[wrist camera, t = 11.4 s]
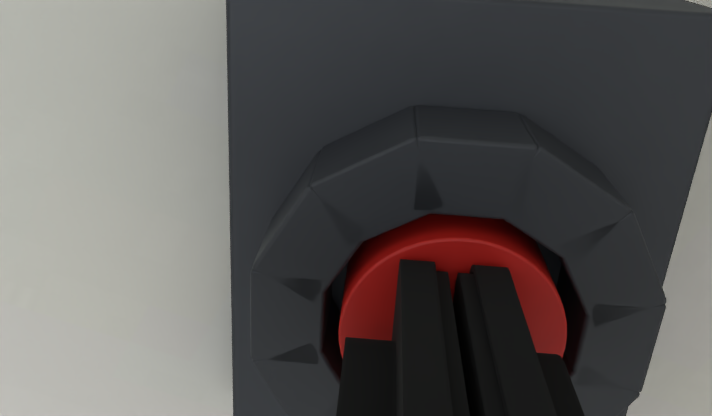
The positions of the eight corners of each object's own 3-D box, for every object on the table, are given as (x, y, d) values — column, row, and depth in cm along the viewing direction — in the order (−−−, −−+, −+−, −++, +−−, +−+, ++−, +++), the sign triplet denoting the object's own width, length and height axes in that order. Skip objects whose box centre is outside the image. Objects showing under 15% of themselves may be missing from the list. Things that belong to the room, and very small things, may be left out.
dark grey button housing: (252, -31, 12) (191, -9, 9) (685, -2, 12) (808, 35, 9) (253, 397, 16) (211, 534, 13) (579, 425, 16) (632, 574, 13)
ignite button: (351, 185, 11) (343, 228, 10) (562, 202, 11) (589, 248, 10) (341, 357, 13) (332, 420, 11) (527, 373, 13) (546, 438, 11)
